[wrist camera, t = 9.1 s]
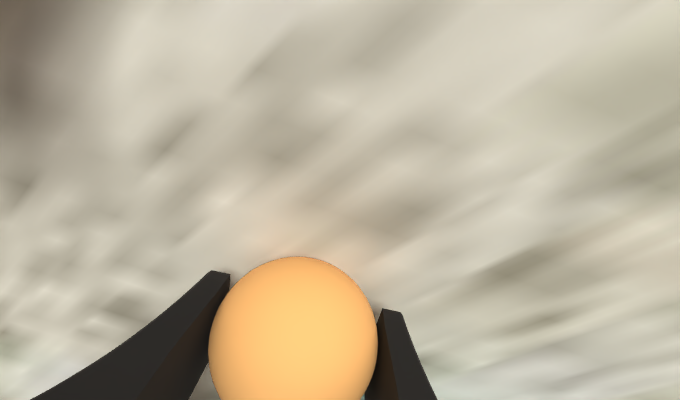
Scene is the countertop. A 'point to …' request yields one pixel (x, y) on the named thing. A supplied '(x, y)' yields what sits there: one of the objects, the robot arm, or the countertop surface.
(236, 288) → the ball
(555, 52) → the countertop surface
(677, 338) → the countertop surface
